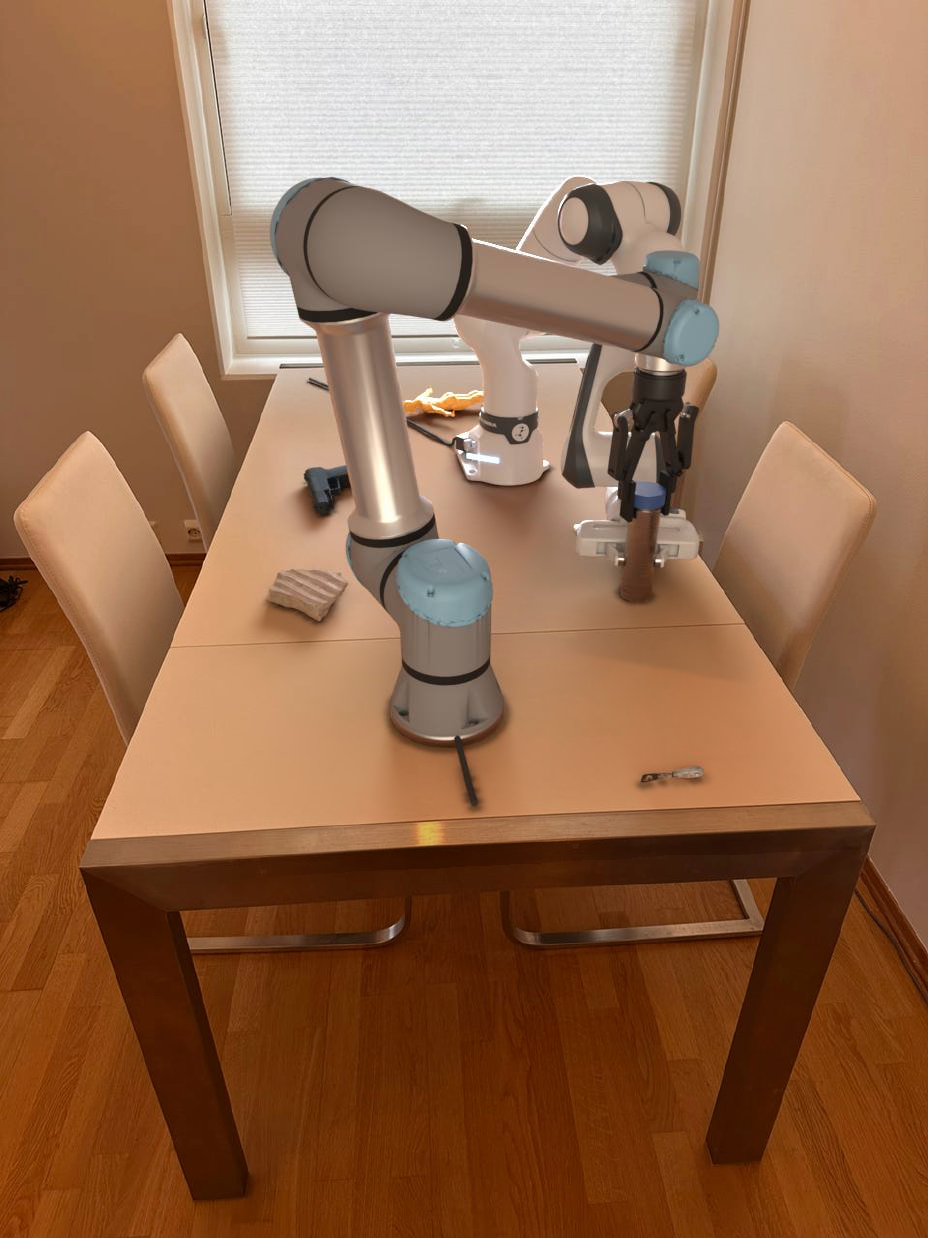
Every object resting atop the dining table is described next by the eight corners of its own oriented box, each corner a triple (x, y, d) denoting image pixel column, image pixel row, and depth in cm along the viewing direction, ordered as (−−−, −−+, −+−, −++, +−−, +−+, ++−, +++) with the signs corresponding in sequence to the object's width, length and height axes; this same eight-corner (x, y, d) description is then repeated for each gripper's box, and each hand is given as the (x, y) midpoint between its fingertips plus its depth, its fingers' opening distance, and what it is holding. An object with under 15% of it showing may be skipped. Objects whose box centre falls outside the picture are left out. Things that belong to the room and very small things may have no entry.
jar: (622, 585, 150) (632, 485, 141) (652, 589, 149) (664, 489, 139) (617, 599, 146) (627, 497, 136) (648, 604, 145) (660, 502, 135)
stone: (357, 587, 149) (356, 574, 148) (321, 622, 140) (319, 608, 139) (291, 573, 154) (290, 560, 152) (252, 607, 144) (250, 593, 143)
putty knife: (703, 777, 109) (705, 767, 109) (642, 788, 108) (644, 777, 107) (700, 772, 110) (702, 762, 109) (639, 782, 109) (640, 771, 108)
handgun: (374, 509, 176) (313, 517, 173) (359, 474, 190) (302, 481, 188) (373, 494, 174) (311, 502, 172) (358, 460, 188) (301, 466, 186)
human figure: (395, 413, 223) (394, 398, 221) (438, 390, 237) (438, 375, 235) (462, 429, 215) (462, 413, 213) (502, 404, 229) (503, 388, 227)
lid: (671, 500, 139) (672, 487, 138) (653, 513, 135) (655, 499, 134) (638, 491, 142) (639, 478, 141) (619, 503, 138) (621, 490, 137)
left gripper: (615, 382, 122) (602, 535, 134) (731, 367, 127) (708, 515, 140) (589, 367, 128) (579, 515, 140) (702, 354, 133) (682, 497, 146)
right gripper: (574, 506, 154) (575, 543, 142) (694, 510, 153) (706, 547, 141) (572, 539, 157) (573, 577, 146) (689, 543, 156) (700, 582, 144)
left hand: (644, 515), depth 140 cm, fingers closed on lid, 6 cm apart
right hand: (639, 563), depth 143 cm, fingers closed on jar, 5 cm apart
